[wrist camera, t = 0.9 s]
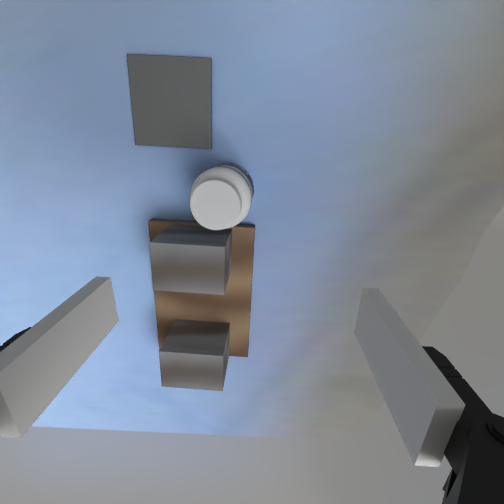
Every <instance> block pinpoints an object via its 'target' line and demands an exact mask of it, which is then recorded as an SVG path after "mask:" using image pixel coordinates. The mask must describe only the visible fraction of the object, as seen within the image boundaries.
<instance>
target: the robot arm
mask: <svg viewBox="0 0 504 504" xmlns="http://www.w3.org/2000/svg"><path fill="white" fill-rule="evenodd" d="M118 321H119V319H118V314H117V309H116V304H115V299H114V294H113V288H112V283H111V278H110V277H95V278H94V279H93V280H91V281H90V282H89V283H88V284H86V285H85V286H84V287H82V288H81V289H80V290H79V291H77V292H76V293H75V294H74V295H72V296H71V297H70V298H68V299H67V300H66V301H65V302H63V303H62V304H61V305H60V306H58V307H57V308H56V309H54V310H53V311H52V312H51V313H49V314H48V315H47V316H46V317H44V318H43V319H42V320H40V321H39V322H38V323H37V324H35V325H34V326H33V327H29V328H27V329H25V330H23V331H21V332H19V333H17V334H15V335H14V336H13V337H11V338H10V339H9V340H7V341H6V342H5V343H3V346H0V437H12V438H22V437H23V435H24V434H25V433H26V432H27V431H28V429H29V428H30V427H31V426H32V425H33V423H34V422H35V421H36V420H37V419H38V417H39V416H40V415H41V414H42V413H43V411H44V410H45V409H46V408H47V407H48V405H49V404H50V403H51V402H52V401H53V399H54V398H55V397H56V396H57V395H58V393H59V392H60V391H61V390H62V389H63V387H64V386H65V385H66V384H67V383H68V381H69V380H70V379H71V378H72V376H73V375H74V374H75V373H76V372H77V370H78V369H79V368H80V367H81V366H82V364H83V363H84V362H85V361H86V360H87V358H88V357H89V356H90V355H91V354H92V352H93V351H94V350H95V349H96V348H97V346H98V345H99V344H100V343H101V342H102V340H103V339H104V338H105V337H106V336H107V334H108V333H109V332H110V331H111V330H112V328H113V327H114V326H115V325H116V324H117V322H118ZM354 333H355V335H356V337H357V339H358V341H359V344H360V346H361V348H362V350H363V352H364V355H365V357H366V359H367V361H368V364H369V366H370V368H371V370H372V372H373V375H374V377H375V379H376V381H377V383H378V386H379V388H380V390H381V392H382V394H383V397H384V399H385V401H386V403H387V406H388V408H389V410H390V412H391V414H392V417H393V419H394V421H395V423H396V425H397V428H398V430H399V432H400V434H401V436H402V439H403V441H404V443H405V445H406V448H407V450H408V452H409V454H410V456H411V459H412V461H413V463H414V465H417V466H432V467H439V466H440V464H441V461H442V459H443V457H444V455H445V456H446V458H447V460H448V461H449V463H450V465H451V467H452V470H451V472H450V474H449V476H448V478H447V481H446V483H445V485H444V487H443V490H444V491H445V494H444V498H443V502H442V504H504V417H501V416H498V415H496V414H493V413H492V412H491V411H490V410H489V409H488V407H487V406H486V405H485V404H484V402H483V401H482V400H481V399H480V398H479V397H478V395H477V394H476V393H475V392H474V390H473V389H472V388H471V387H470V386H469V384H468V383H467V382H466V381H465V379H462V376H461V375H460V373H459V372H458V371H457V370H456V369H455V367H454V366H453V365H452V364H451V363H450V361H449V360H448V359H447V358H446V356H444V355H443V354H442V353H440V352H439V351H438V350H436V349H435V348H433V347H424V346H421V345H420V343H419V342H418V341H417V339H416V338H415V337H414V335H413V334H412V333H411V331H410V330H409V329H408V327H407V326H406V325H405V323H404V322H403V321H402V319H401V318H400V317H399V315H398V314H397V313H396V311H395V310H394V309H393V307H392V306H391V305H390V303H389V302H388V301H387V299H386V298H385V297H384V295H383V294H382V293H381V291H380V290H379V289H376V288H363V291H362V296H361V301H360V306H359V311H358V317H357V322H356V327H355V332H354Z"/></svg>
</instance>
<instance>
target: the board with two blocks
mask: <svg viewBox="0 0 504 504" xmlns="http://www.w3.org/2000/svg"><path fill="white" fill-rule="evenodd" d="M148 225H149V236H150V242H149V246H150V258H151V269H152V280H153V290H154V293H155V305H156V316H157V328H158V339H159V359H160V370H161V382H162V386H164V387H177V388H190V389H202V390H215V391H223V386H224V380H225V375H226V369H227V364H228V358H229V356H240V357H248V346H249V328H250V310H251V292H252V274H253V256H254V238H255V225H243V224H237V225H236V226H234V227H231V228H227V229H222V230H211V229H208V228H205V227H203V226H202V225H200V224H199V223H198V222H194V221H177V220H161V219H152V220H150V221H148Z"/></svg>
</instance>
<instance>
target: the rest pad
mask: <svg viewBox="0 0 504 504" xmlns="http://www.w3.org/2000/svg"><path fill="white" fill-rule="evenodd" d="M127 62H128V72H129V83H130V93H131V104H132V114H133V125H134V136H135V145H147V146H166V147H184V148H203V149H212V59H211V58H204V57H181V56H158V55H136V54H127Z"/></svg>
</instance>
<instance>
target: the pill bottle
mask: <svg viewBox="0 0 504 504" xmlns="http://www.w3.org/2000/svg"><path fill="white" fill-rule="evenodd" d="M253 194H254V185H253V181H252V178H251V176H250V175H249V173H248V172H247V171H246V170H245V169H244V168H242V167H241V166H239V165H236V164H232V163H225V164H221V165H218V166H216V167H214V168H211V169H208V170H206V171H205V172H203V173H202V174H200V175H199V176H198V177H197V179H196V180H195V181H194V183H193V185H192V188H191V193H190V208H191V212H192V214H193V216H194V218H195V219H196V221H197V222H198V223H199V224H200V225H202V226H203V227H205V228H208V229H211V230H222V229H227V228H231V227H234V226H236V225H237V224H239V223H240V222H241V221H242V220H243V219H244V218H245V217H246V216H247V214H248V212H249V210H250V207H251V202H252V198H253Z"/></svg>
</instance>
